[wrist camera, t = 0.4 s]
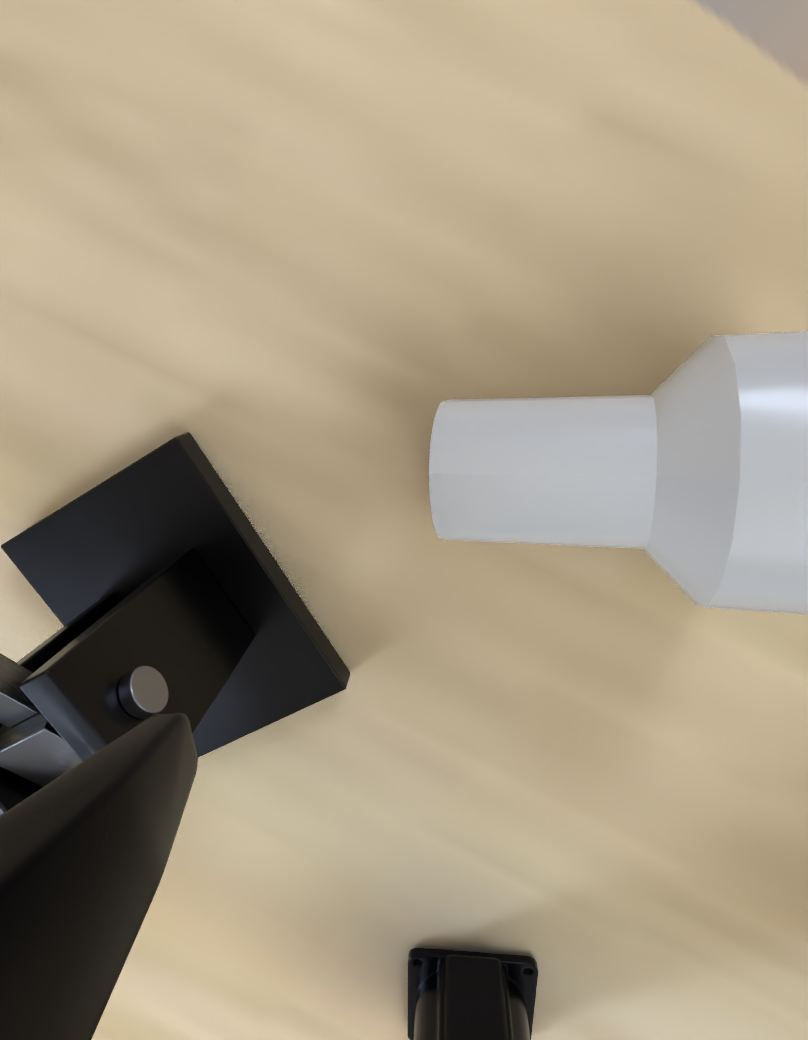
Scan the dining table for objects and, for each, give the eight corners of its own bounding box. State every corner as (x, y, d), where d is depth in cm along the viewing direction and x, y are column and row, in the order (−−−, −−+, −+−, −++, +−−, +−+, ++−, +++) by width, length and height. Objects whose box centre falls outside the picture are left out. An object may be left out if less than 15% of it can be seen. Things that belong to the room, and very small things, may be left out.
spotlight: (769, 581, 21) (885, 660, 13) (459, 564, 24) (406, 619, 16) (787, 352, 20) (925, 291, 12) (461, 365, 23) (406, 323, 15)
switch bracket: (20, 536, 24) (-250, 664, 15) (189, 431, 22) (2, 502, 13) (187, 749, 27) (50, 970, 18) (351, 673, 25) (293, 875, 16)
